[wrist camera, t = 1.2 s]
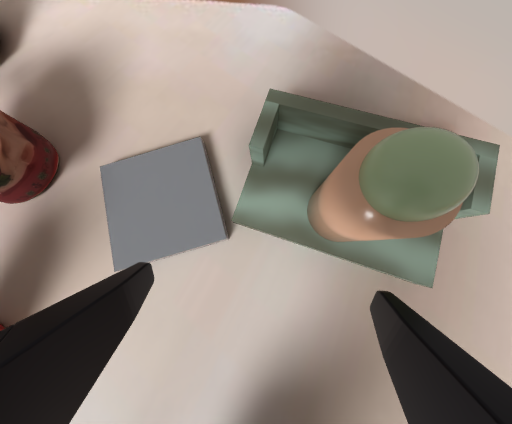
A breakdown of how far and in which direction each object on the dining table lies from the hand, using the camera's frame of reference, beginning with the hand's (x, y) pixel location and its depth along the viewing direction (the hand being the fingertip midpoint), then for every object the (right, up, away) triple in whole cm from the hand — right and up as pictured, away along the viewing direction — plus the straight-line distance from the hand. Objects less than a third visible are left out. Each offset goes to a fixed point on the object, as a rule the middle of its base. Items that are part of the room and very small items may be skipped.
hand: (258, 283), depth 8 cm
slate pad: (-11, +4, +16) cm, 20 cm away
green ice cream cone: (+9, +3, +13) cm, 16 cm away
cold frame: (+9, +4, +15) cm, 18 cm away
